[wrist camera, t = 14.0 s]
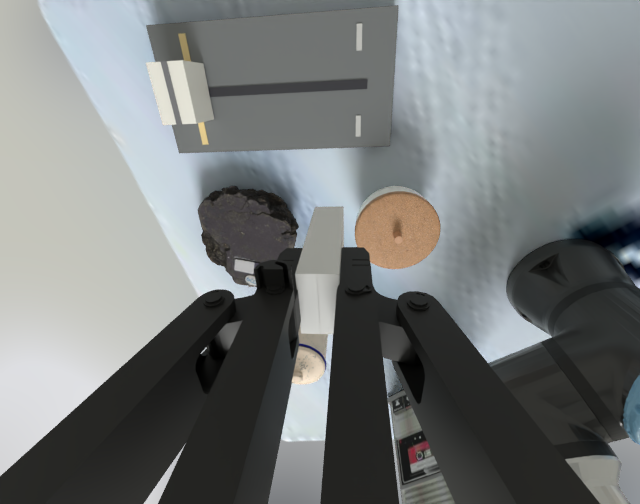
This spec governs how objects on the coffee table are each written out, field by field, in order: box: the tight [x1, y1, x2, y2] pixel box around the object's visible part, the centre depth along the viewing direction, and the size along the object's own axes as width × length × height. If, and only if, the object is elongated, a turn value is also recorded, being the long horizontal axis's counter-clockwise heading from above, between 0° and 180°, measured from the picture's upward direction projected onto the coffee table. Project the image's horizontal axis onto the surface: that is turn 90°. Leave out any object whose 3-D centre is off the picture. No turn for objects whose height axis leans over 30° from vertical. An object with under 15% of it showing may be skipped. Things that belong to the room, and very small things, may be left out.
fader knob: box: [146, 60, 214, 125], centre depth 35 cm, size 4×6×5 cm, turn 3°
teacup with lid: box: [292, 327, 328, 384], centre depth 54 cm, size 12×9×12 cm
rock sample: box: [198, 186, 299, 287], centre depth 47 cm, size 18×16×5 cm
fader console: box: [146, 5, 398, 153], centre depth 37 cm, size 28×14×3 cm, turn 93°
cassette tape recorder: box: [387, 390, 455, 504], centre depth 53 cm, size 14×6×25 cm, turn 135°
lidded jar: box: [355, 186, 440, 269], centre depth 41 cm, size 11×11×9 cm
